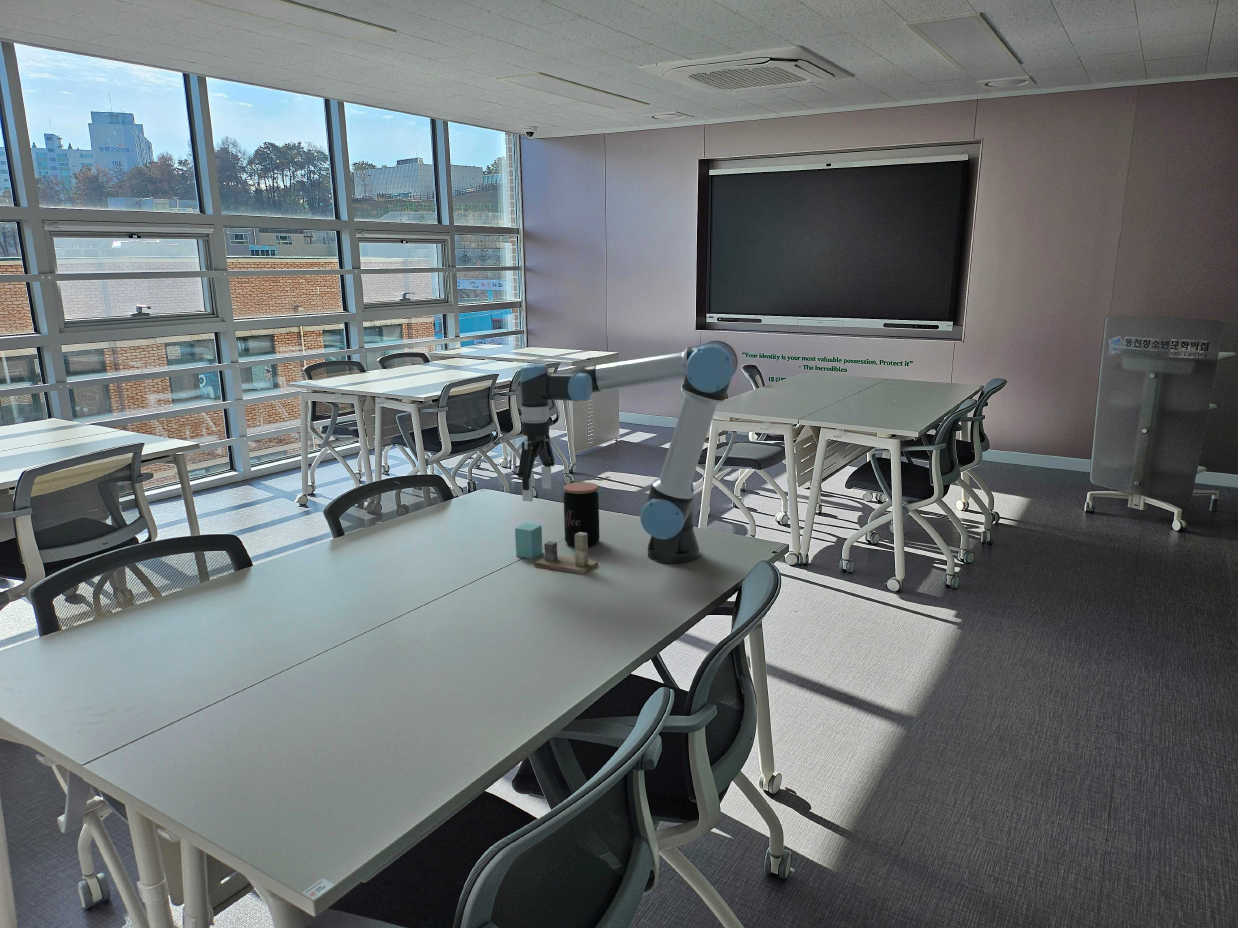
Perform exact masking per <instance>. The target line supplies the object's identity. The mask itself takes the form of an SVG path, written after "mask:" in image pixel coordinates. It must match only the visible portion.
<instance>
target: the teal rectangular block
mask: <svg viewBox="0 0 1238 928" xmlns="http://www.w3.org/2000/svg"><path fill="white" fill-rule="evenodd" d="M542 527H543V526H542V525H541V524H535V523H533V524H532V523H525V522H524V523H523V524H520V525H519V526H517V527H514V534H515V537H514V538H515V556H516V557H519V558H524V559H533V560H534V559H535V558H536V557H538V556H540V555H541V554H543V530H542V529H543V528H542Z"/></svg>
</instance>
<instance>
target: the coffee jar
mask: <svg viewBox="0 0 1238 928" xmlns="http://www.w3.org/2000/svg"><path fill="white" fill-rule="evenodd" d="M562 488H563V489H562V490H563V492H564V493H563V495H562V496H563V518H564V519H563V520H564V523H563V524H564V541H565V542H566V544H567V545H568V546H570V547H571V548H575V534H577V533H578V532H582V533H587V544H588V548H591V547H594V546H596V545H597V544H598V543H599V541H600V537H601V536H600V507H599V506H600V503H599V502H600V501H599V498H600V497H599V492H598V490H599V485H598V484H597V483H594V482H590V481H589V482H586V481H583V482H581V481H579V482H571V483H567V484H565V485H563V487H562Z"/></svg>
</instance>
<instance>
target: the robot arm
mask: <svg viewBox="0 0 1238 928" xmlns="http://www.w3.org/2000/svg"><path fill="white" fill-rule="evenodd" d="M738 361H739V360H738V356H737V353H736V350H735V349H734V348H733V347H732V346H731V345H730V344H728V343H727V342H726V341H722V340H711V341H707V342H705V343H701V344H698V345H694V346H690V347H689V346H688V347H686V348H685V349H684V350H683V351H680V352H673V353H669V354H661V355H654V356H653V355H652V356H646V357H642V358H641V357H640V358H633V359H628V360H620V361H615V362H608V363H603V364H598V365H590V366H588V365H583V366H579V367H577V368H575V369H574V370H573V369H572V370H570V371H568V372H552V371H549V370H548V369H549V367H548V366H547V365H546V364H543V363H542V364H541V363H531V364H525V365H523V366H521V368H520V380H519V383H520V399H521V400H520V402H521V407H520V412H521V420H523V421H522V422H521V432H522V436H525V437H527V439H526V441H521V452H520V458H519V464H518V471H517V478H518V479H521V493H522V495H521V497H522V501H523V502H530V503H531V502H533V499H534V498H533V477H531V476H532V472H533V469H534V465H535V461H536V458H538V457H539V459H540V462H541V463H542V466H541V489H543V490H552V488H553V487H552V485H553V484H552V467H555V457H554V452H553V449H552V445H551V438H550V422H549V421H548V420H549V419H550V405H549V401H570V402H580V401H581V402H587V401H588V400H589V401H590V398H591V396H592V393H598V392H599V393H600V392H603V391H604V392H605V391H609V390H610V391H611V390H612V391H613V390H618V389H619V390H620V389H627V388H632V387H640V386H646V385H655V384H661V383H666V382H667V383H668V382H674V381H675V382H676V381H682V380H683V383H682V386H681V390H682V391H683V394H684V399H683V401H682V405H681V408H680V412H679V414H678V417H677V422H676V424H675V428H674V430H673V434H672V438H671V441H670V444H669V447H668V450H667V454H666V457H665V460H664V464H663V466H662V470H661V472H660V477H658V478H655V479H653V481H652V483H651V486H650V489H649V492H648V495H647V498H646V502H645V504H644V505H643V506H642V507H641V510H640V524H641V526H642V528H643V529H644V531H645V532H646V533H647V534H648V535H650V539H649V542H648V545H647V556H648V558H649V559H651V560H653V561H656V562H660V563H666V564H667V563H668V564H681V563H682V564H683V563H687V562H688V563H689V562H692V561H695V560H696V559H698V558H699V556H700V545H699V543H698V540H697V537H696V534H695V531H694V491H695V489H694V482H693V480H694V476H695V473H696V469H697V467H698V464H699V460H700V458H701V455H702V452H703V448H704V445H705V442H706V438H707V436H708V432H709V430H710V427H711V424H712V422H713V418H714V414H715V411H716V408H717V406H718V405H719V404H721V403H723V402H724V401H725V398H726V396H727V394H728V390H729V387H730V384H731V381H732V378H733V376H734V375H735V374H736V371H737V369H738V365H739V364H738V363H739V362H738Z"/></svg>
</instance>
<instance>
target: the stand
mask: <svg viewBox="0 0 1238 928" xmlns="http://www.w3.org/2000/svg"><path fill="white" fill-rule="evenodd" d="M543 548H544V557H542V558H540V559H539V560H537V561H534V567H536V568H542V569H548V570H552V571H553V570H554V571H560V572H566V573H571V574H576V575H577V574H579V575H586V574H588V573H589V572H590V571H592V570H594V569H595V568H596V567H598V566H599V561H597V560H590V559H588V558H589V552H588V551H589V549H588V548H589V547H588V544H587V533H582V532H578V533H577V534H575V547H574V557H571V556H566V555H565V556H564V555H559V554H558V542H557V541H552V540H551V541H550V540H549V541H547V542H544V547H543Z"/></svg>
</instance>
